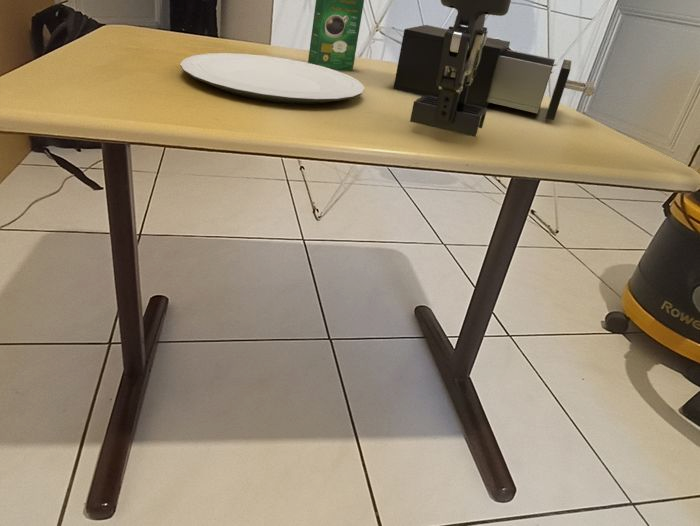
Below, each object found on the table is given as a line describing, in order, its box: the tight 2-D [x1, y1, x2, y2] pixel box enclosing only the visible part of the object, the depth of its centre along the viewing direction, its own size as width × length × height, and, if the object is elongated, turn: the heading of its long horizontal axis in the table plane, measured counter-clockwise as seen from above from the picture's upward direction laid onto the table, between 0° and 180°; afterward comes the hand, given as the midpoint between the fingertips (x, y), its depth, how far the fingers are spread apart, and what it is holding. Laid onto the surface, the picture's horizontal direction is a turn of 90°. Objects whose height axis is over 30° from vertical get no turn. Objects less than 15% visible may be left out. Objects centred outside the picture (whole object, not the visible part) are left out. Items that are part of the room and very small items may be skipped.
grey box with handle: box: [487, 49, 595, 121], centre depth 87 cm, size 18×12×7 cm
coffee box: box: [307, 0, 365, 72], centre depth 92 cm, size 8×3×13 cm, turn 125°
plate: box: [179, 52, 365, 105], centre depth 77 cm, size 25×25×2 cm
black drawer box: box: [393, 24, 511, 108], centre depth 90 cm, size 15×14×9 cm
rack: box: [409, 95, 488, 138], centre depth 67 cm, size 6×8×2 cm
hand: (448, 118), depth 68 cm, fingers closed on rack, 5 cm apart
